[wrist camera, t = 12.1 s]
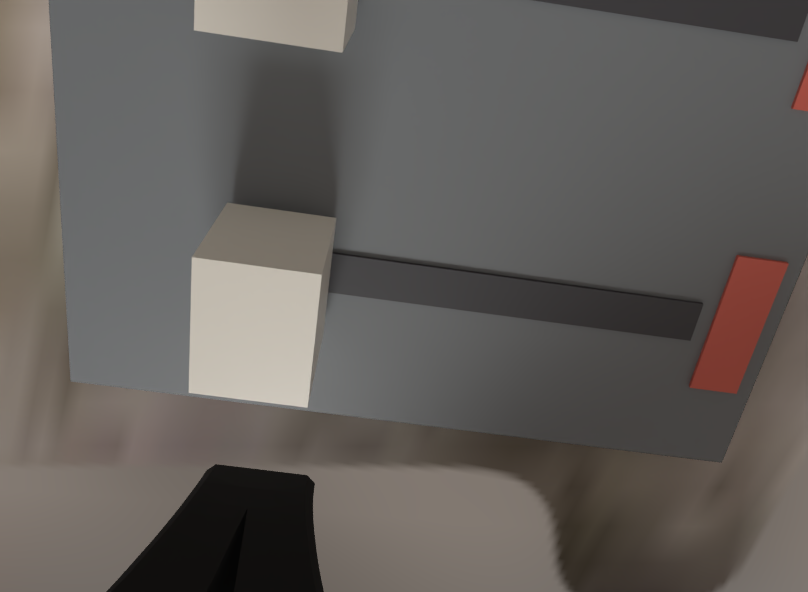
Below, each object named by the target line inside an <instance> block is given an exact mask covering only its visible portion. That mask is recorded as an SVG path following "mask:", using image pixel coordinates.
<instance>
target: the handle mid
mask: <svg viewBox="0 0 808 592" xmlns="http://www.w3.org/2000/svg"><path fill="white" fill-rule="evenodd" d="M357 5H358V0H195V1H194V30H195V31H202V32H208V33H215V34H221V35H228V36H235V37H241V38H248V39H254V40H261V41H268V42H274V43H281V44H287V45H294V46H301V47H307V48H314V49H321V50H327V51H334V52H340V53H343V51H344V49H345V47H346V45H347V43H348V41H349V39H350V37H351V35H352V33H353V31H354V30H355V23H356V14H357Z"/></svg>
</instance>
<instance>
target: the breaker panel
mask: <svg viewBox="0 0 808 592" xmlns="http://www.w3.org/2000/svg"><path fill="white" fill-rule="evenodd" d="M194 1H195V0H49V14H50V32H51V49H52V66H53V84H54V101H55V118H56V136H57V153H58V170H59V188H60V205H61V222H62V240H63V257H64V274H65V291H66V309H67V326H68V343H69V361H70V378H71V381H73V382H81V383H89V384H97V385H105V386H113V387H121V388H129V389H137V390H145V391H153V392H161V393H169V394H177V395H185V396H193V397H201V398H209V399H217V400H225V401H233V402H241V403H249V404H257V405H265V406H273V407H281V408H289V409H297V410H305V411H313V412H321V413H329V414H337V415H345V416H353V417H361V418H369V419H377V420H385V421H393V422H401V423H409V424H417V425H425V426H433V427H441V428H449V429H457V430H465V431H473V432H481V433H489V434H497V435H505V436H513V437H521V438H529V439H537V440H545V441H553V442H561V443H569V444H577V445H585V446H593V447H601V448H609V449H617V450H625V451H633V452H641V453H649V454H657V455H665V456H673V457H681V458H689V459H697V460H705V461H713V462H721V463H722V461H723V458H724V456H725V454H726V451H727V449H728V446H729V444H730V441H731V439H732V437H733V434H734V432H735V429H736V427H737V424H738V422H739V420H740V417H741V415H742V412H743V410H744V407H745V405H746V403H747V400H748V398H749V395H750V393H751V391H752V388H753V386H754V383H755V381H756V378H757V376H758V374H759V371H760V369H761V366H762V364H763V361H764V359H765V357H766V354H767V352H768V349H769V347H770V344H771V342H772V340H773V337H774V335H775V332H776V330H777V328H778V325H779V323H780V320H781V318H782V315H783V313H784V311H785V308H786V306H787V303H788V301H789V298H790V296H791V294H792V291H793V289H794V286H795V284H796V281H797V279H798V277H799V274H800V272H801V269H802V267H803V265H804V262H805V260H806V257H807V255H808V0H358V5H357V14H356V23H355V30H354V31H353V33H352V35H351V37H350V39H349V41H348V43H347V45H346V47H345V49H344V51H343V53H340V52H334V51H327V50H321V49H314V48H307V47H301V46H294V45H287V44H281V43H274V42H268V41H261V40H254V39H248V38H241V37H235V36H228V35H221V34H215V33H208V32H202V31H195V30H194ZM227 203H233V204H240V205H248V206H255V207H262V208H269V209H276V210H283V211H291V212H298V213H305V214H312V215H319V216H327V217H334V218H336V225H335V234H334V243H333V252H332V261H331V269H330V278H329V287H328V296H327V305H326V314H325V323H324V332H323V338H322V343H321V348H320V352H319V357H318V362H317V366H316V371H315V376H314V380H313V385H312V390H311V394H310V399H309V404H308V408H305V407H297V406H289V405H281V404H273V403H265V402H257V401H249V400H241V399H233V398H225V397H217V396H209V395H201V394H193V393H189V354H190V311H191V269H192V256H193V255H194V253H195V251H196V250H197V248H198V247H199V245H200V244H201V242H202V241H203V239H204V238H205V236H206V235H207V233H208V231H209V230H210V228H211V227H212V225H213V224H214V222H215V221H216V219H217V218H218V216H219V215H220V213H221V211H222V210H223V208H224V207H225V205H226V204H227Z"/></svg>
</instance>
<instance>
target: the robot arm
mask: <svg viewBox="0 0 808 592" xmlns="http://www.w3.org/2000/svg"><path fill="white" fill-rule="evenodd" d="M314 485H315V484H314V482H313V481H312V480H311V479H310V478H309V477H308V476H307V475H300V474H292V473H283V472H275V471H267V470H258V469H250V468H242V467H233V466H225V465H217V464H216V465H214V466H213V467H211V468H210V469H208V470H207V471H206V472H205V474H204V475H203V477H202V478H201V480H200V481H199V483H198V484H197V485H196V487H195V488H194V489H193V491H192V492H191V493H190V495H189V496H188V497H187V499H186V500H185V501H184V503H183V504H182V506H180V508H179V509H178V510H177V512H176V513H175V514H174V515H173V517H172V518H171V519H170V520H169V521H168V523H167V524H166V525H165V526H164V527H163V529H162V530H161V531H160V532H159V533H158V535H157V536H156V537H155V538H154V540H153V541H152V542H151V543H150V544H149V545H148V546H147V547H146V548H145V550H144V551H143V552H142V553H141V554H140V555H139V556H138V558H137V559H136V560H135V561H134V562H133V563H132V564H131V565H130V566H129V568H128V569H127V570H126V571H125V572H124V573H123V574H122V576H121V577H120V578H119V579H118V580H117V581H116V582H115V583H114V584H113V585H112V586H111V587H110V589H108V591H107V592H324V591H323V586H322V581H321V576H320V571H319V565H318V559H317V552H316V544H315V535H314V524H313V493H314Z"/></svg>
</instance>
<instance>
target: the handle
mask: <svg viewBox="0 0 808 592" xmlns="http://www.w3.org/2000/svg"><path fill="white" fill-rule="evenodd" d="M335 225H336V218H334V217H327V216H319V215H312V214H305V213H298V212H291V211H283V210H276V209H269V208H262V207H255V206H248V205H240V204H233V203H227V204H226V205H225V207H224V208H223V210H222V211H221V213H220V215H219V216H218V218H217V219H216V221H215V222H214V224H213V225H212V227H211V228H210V230H209V231H208V233H207V235H206V236H205V238H204V239H203V241H202V242H201V244H200V245H199V247H198V248H197V250H196V251H195V253H194V255H193V256H192V269H191V311H190V354H189V393H193V394H201V395H209V396H217V397H225V398H233V399H241V400H249V401H257V402H265V403H273V404H281V405H289V406H297V407H305V408H308V404H309V399H310V394H311V390H312V385H313V380H314V376H315V371H316V366H317V362H318V357H319V352H320V348H321V343H322V338H323V332H324V323H325V314H326V305H327V296H328V287H329V278H330V269H331V261H332V252H333V243H334V234H335Z"/></svg>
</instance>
